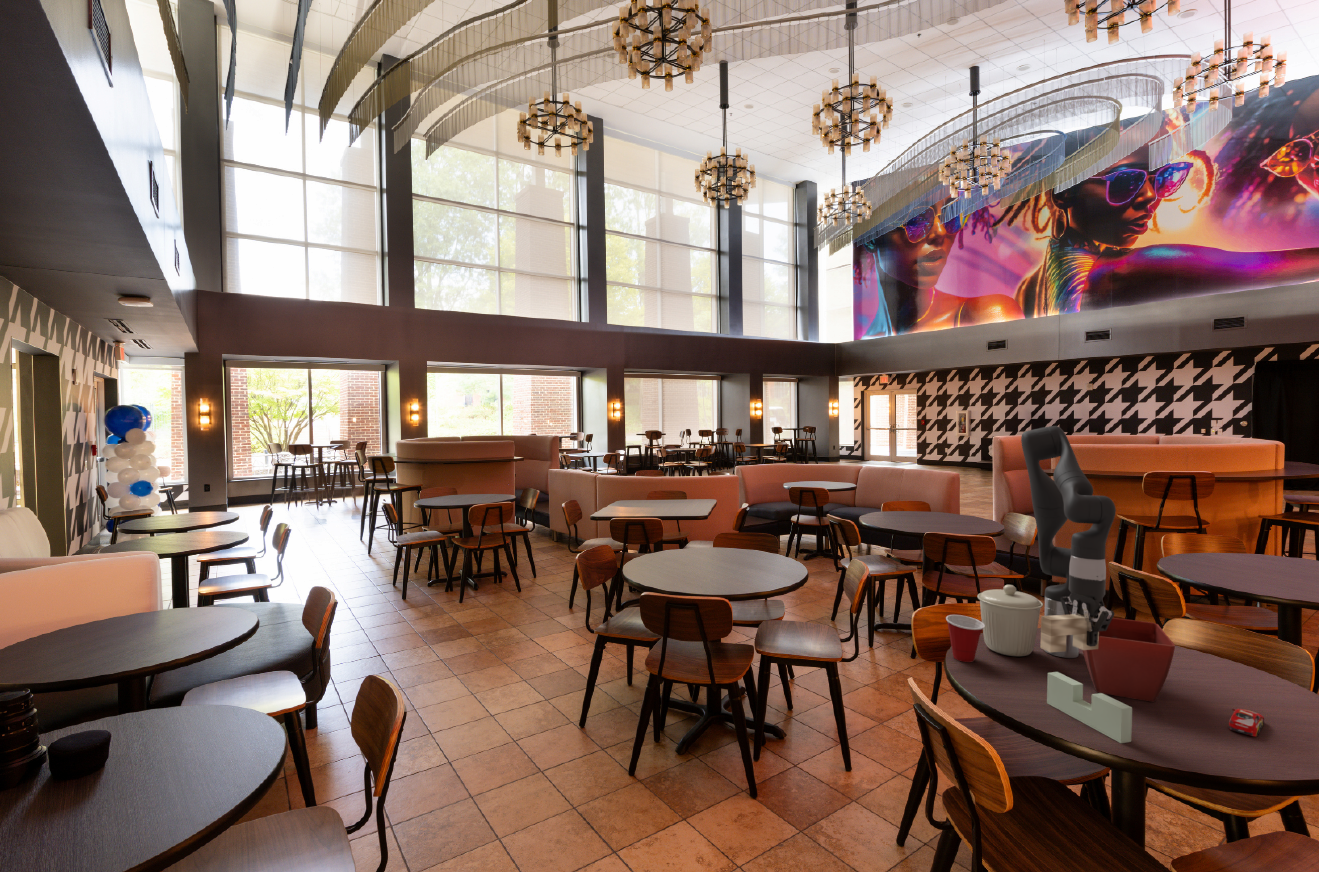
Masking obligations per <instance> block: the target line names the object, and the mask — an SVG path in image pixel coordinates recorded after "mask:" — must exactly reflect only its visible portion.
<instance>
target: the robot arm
mask: <svg viewBox="0 0 1319 872" xmlns="http://www.w3.org/2000/svg"><path fill="white" fill-rule="evenodd" d="M1020 437H1021V438H1020V442H1021V449H1022V453H1023V457H1024V461H1025V465H1026V470H1027V473H1028V478H1029V479H1028V480H1029V485H1030V486H1029V487H1030V492H1031V493H1030V494H1031V495H1030V496H1031V503H1032V509H1033V514H1034V518H1035V519H1034V520H1035V525H1036V531H1037V539H1038V555H1039V566H1040V569H1041V570H1042V571H1041V572H1042V573H1044V574H1045V575H1049V576H1053V577H1058V578H1065V579H1066V582H1065V583H1062V584H1057V585H1054V584H1053V585H1050V586H1047V587H1046V588H1045V590H1044V615H1043V616H1053V615H1071V614H1076V615H1078V614H1083V615H1084V618H1085V621H1086V622H1087V629H1088V631H1087V645H1088V646H1090V647H1091V646H1096V645H1097V643H1098V632H1099V631H1106V630H1107V628H1108V626H1109V624H1110V622H1111V620H1112V618H1114V616H1115V612H1114V611H1113V610H1109V609H1107V608H1106V607H1105V603H1104V601H1103V598H1104V597H1105V595H1106V584H1107V583H1106V579H1107V567H1106V566H1107V565H1106V543H1107V539H1108V536H1109V532H1110V531H1111V527H1112V525H1113V523H1114V520H1115V519H1116V518H1115V517H1116V512H1117V509H1116V505H1115V502H1114V501H1113V500H1112V498H1110V496H1109V497H1108V496H1106V495H1093V494H1094V487H1093V485H1092V484H1091V482H1090V481H1089V479H1088V478H1087V476H1086V475H1085V473H1084V471H1083V470H1082V468H1081V467H1080V464H1079V462H1078V460H1077V457H1076V455H1075V452H1074V450H1073V447H1072V445H1071V443H1070V441H1069V438H1068V437H1067V434H1066V433H1065V431H1064V430H1063V429H1062V428H1061V427H1060V426H1058V425H1050V426H1045V427H1044V426H1043V427H1039V428H1034V429H1030V430H1027V431H1024V432H1023V433H1022V434H1021V436H1020ZM1058 457H1059V460H1058V462H1057V464H1056V467H1055V468H1054V471H1053V479H1052V477H1050V475H1048V473H1046V472H1045V471H1044V469H1043V468H1042V467H1041V465H1040V461H1045V460H1048V459H1056V458H1058ZM1068 520H1069V521H1070V522H1072V523H1075V524H1091V527H1090V528H1089V529H1087V530H1085V531H1078V532H1074V533H1073V534H1072V536H1071V542H1070V543H1071V545H1070V548H1067V547H1063V546H1061V547H1060V546H1055V544H1054V543H1053V542H1054V538H1055V536H1056V535H1057V533H1058V532H1059V531H1060V529H1062V527H1063V526H1064V525H1065V524H1066V523H1067V521H1068ZM1090 617H1094V618H1090ZM1093 623H1094V626H1093ZM1043 651H1044V652H1046V653H1047V654H1049V655H1052V656H1056V657H1058V658H1066V659H1075V658H1077V657H1079V651H1080V649H1079V648H1077V647H1074V646H1073V635H1066V651H1063V652H1048V651H1046V650H1044V649H1043Z"/></svg>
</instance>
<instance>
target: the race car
mask: <svg viewBox="0 0 1319 872" xmlns="http://www.w3.org/2000/svg"><path fill="white" fill-rule="evenodd" d="M1232 711H1233V713H1232V714H1231V717H1230V719H1229V720H1228V729H1229V730H1231V731H1233V732H1237V733H1241V734H1243V735H1247V736H1250V737H1258V736H1259V734H1260V732H1261V730H1262V728H1263V726H1264V723H1265V717H1264V716H1263V715H1262V714H1261V713H1258V712H1256V711H1253V710H1249V709H1244V708H1237V709H1235V708H1232Z"/></svg>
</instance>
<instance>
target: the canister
mask: <svg viewBox="0 0 1319 872" xmlns="http://www.w3.org/2000/svg"><path fill="white" fill-rule="evenodd" d="M977 600H979V605H980V606H979V608H980V616H981V617H980V618H981V622H983V623H984V624H985V627H984V629H982V633H983V641H984V643H985V645H986V646H987V648H989V649H990V650H991V651H993V652H995V653H997V654H1001V655H1003V656H1004V655H1005V656H1009V657H1025V656H1026V657H1027V656H1029V655H1031V653H1032V652H1033V651H1034V649H1035V644H1036V639H1037V635H1038V634H1037V632H1038V626H1039V620H1040V614H1041V613H1040V612H1041V609H1043V606H1044V603H1043V602H1042V601H1041V600H1039V599H1038V598H1037V597H1035V596H1034V595H1031V594H1028V593H1025V592H1022V591H1018V590H1017V587H1015V586H1014V585H1013V584H1006V585H1004V586H1003V588H1000V589H987V590H984V591H982V592H980V593H978V594H977Z"/></svg>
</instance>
